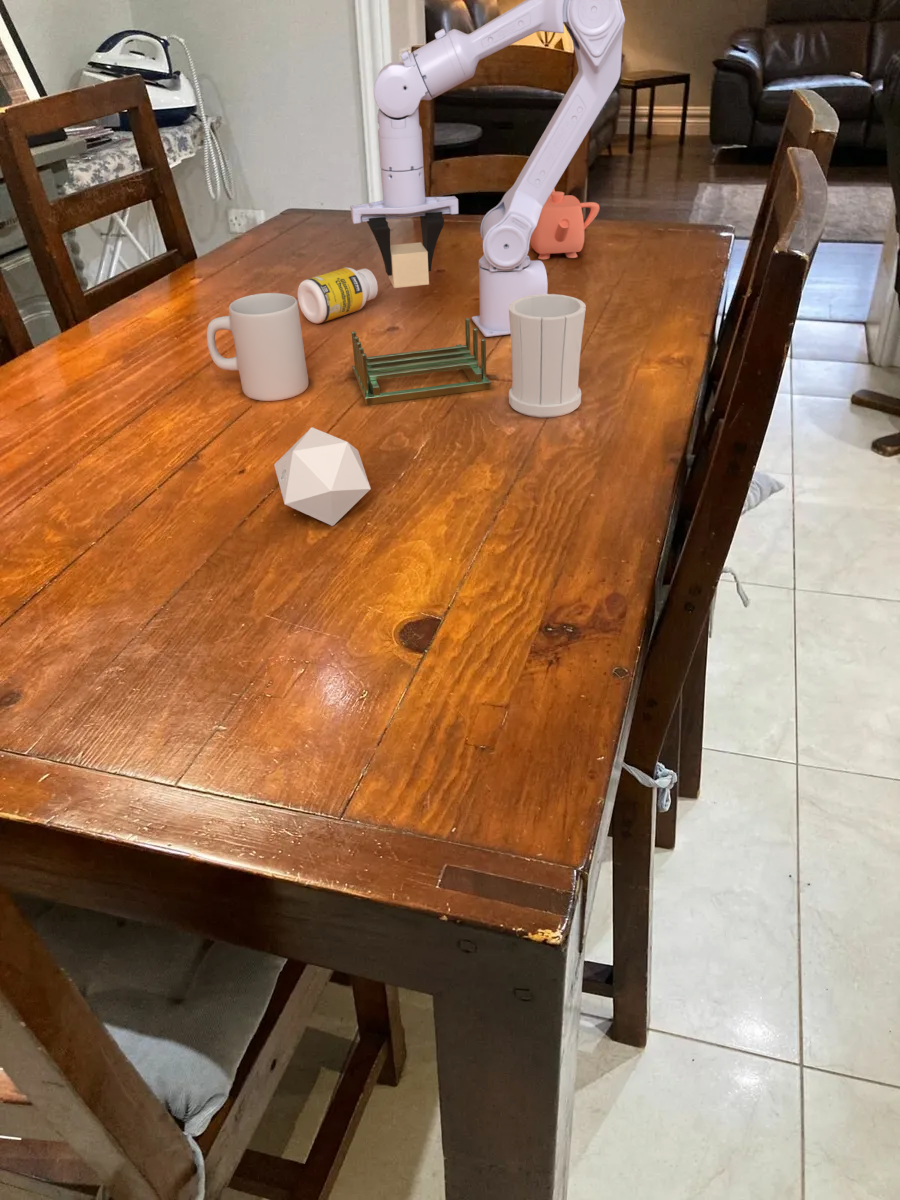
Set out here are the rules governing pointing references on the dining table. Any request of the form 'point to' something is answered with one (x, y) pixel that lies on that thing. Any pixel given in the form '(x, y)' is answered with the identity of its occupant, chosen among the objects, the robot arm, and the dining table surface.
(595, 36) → the robot arm
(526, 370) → the cup
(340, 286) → the pill bottle
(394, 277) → the box
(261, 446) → the dining table surface
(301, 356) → the mug
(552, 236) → the teapot
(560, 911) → the dining table surface
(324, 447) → the die
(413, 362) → the dish rack
